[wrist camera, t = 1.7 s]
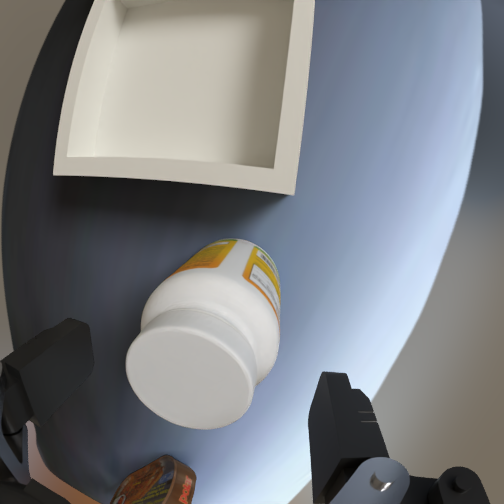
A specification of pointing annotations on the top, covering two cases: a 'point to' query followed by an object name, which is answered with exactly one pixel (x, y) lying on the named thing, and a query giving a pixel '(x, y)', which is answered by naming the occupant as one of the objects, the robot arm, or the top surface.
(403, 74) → the top surface
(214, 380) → the supplement bottle
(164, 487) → the tin
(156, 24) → the tray
